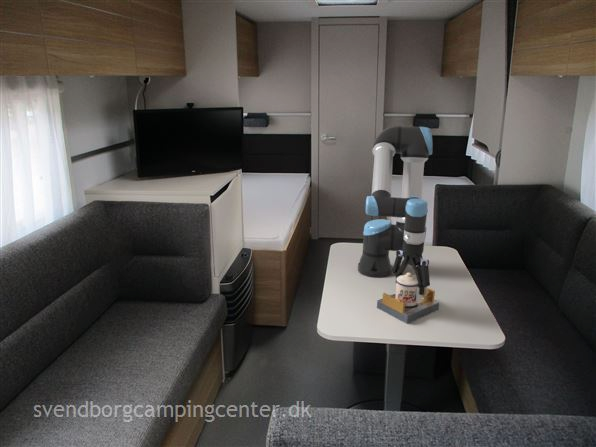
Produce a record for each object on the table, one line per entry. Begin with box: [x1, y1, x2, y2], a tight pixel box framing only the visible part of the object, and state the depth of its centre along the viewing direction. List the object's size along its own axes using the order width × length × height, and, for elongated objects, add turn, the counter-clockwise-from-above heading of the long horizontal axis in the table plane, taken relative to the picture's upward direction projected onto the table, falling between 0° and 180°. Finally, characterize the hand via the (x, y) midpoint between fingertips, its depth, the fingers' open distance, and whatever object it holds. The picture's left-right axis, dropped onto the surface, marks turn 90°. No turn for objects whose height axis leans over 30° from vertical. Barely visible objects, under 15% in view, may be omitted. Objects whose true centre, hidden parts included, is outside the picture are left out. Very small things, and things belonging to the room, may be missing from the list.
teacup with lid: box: [395, 272, 429, 306], centre depth 189 cm, size 12×9×12 cm
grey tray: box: [376, 287, 440, 324], centre depth 192 cm, size 15×18×7 cm
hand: (408, 296), depth 191 cm, fingers closed on teacup with lid, 9 cm apart
